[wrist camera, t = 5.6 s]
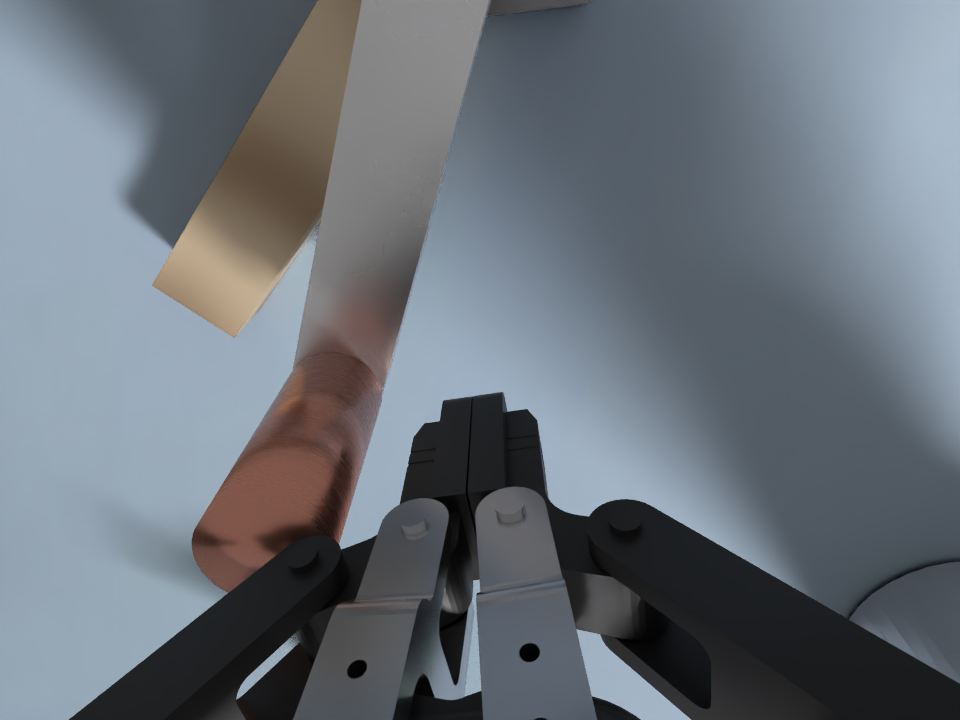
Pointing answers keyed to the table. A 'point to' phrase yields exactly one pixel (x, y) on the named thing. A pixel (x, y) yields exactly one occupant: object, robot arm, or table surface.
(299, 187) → the base
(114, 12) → the table surface
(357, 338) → the bar
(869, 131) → the table surface
